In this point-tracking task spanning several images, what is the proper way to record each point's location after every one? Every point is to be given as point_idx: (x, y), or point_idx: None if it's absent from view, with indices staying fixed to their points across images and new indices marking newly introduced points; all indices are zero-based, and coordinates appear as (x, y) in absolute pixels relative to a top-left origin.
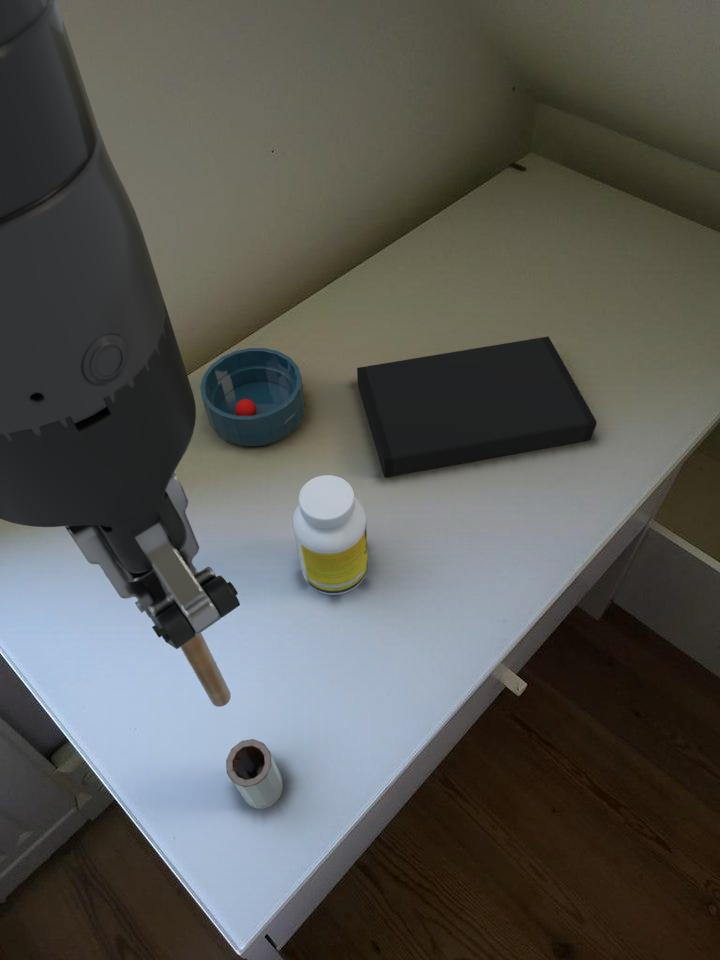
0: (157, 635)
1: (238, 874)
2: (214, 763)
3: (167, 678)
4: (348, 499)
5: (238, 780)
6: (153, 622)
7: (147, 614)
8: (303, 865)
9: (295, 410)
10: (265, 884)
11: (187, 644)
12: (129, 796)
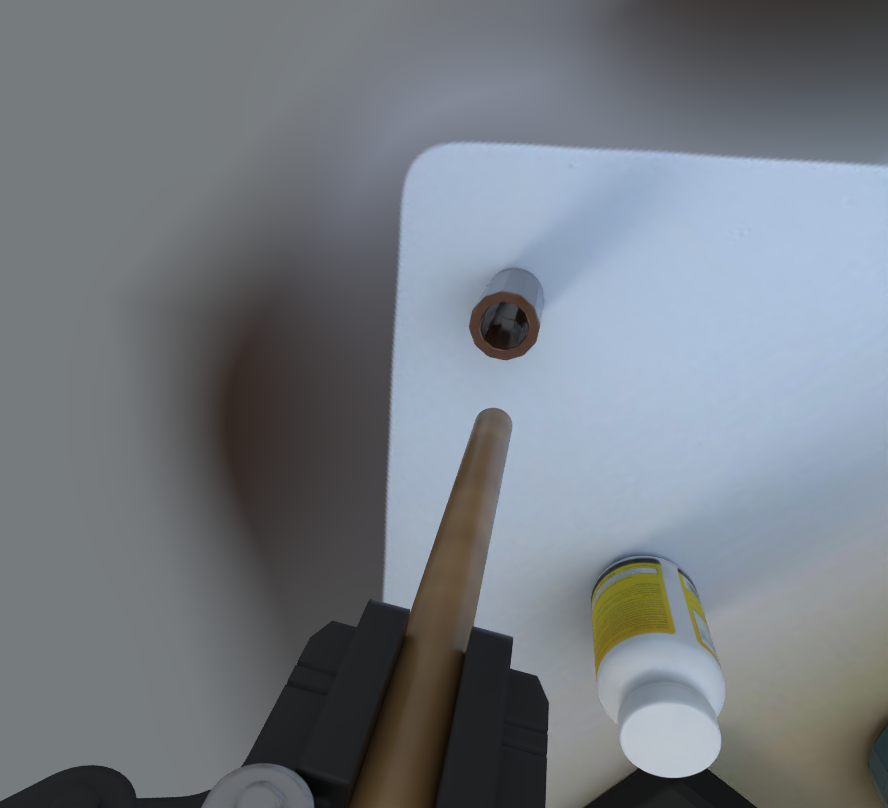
0: (76, 790)
1: (463, 194)
2: (595, 276)
3: (754, 323)
4: (632, 751)
5: (497, 298)
6: (391, 655)
7: (226, 790)
8: (404, 259)
9: (885, 800)
10: (427, 209)
11: (429, 566)
12: (672, 158)
